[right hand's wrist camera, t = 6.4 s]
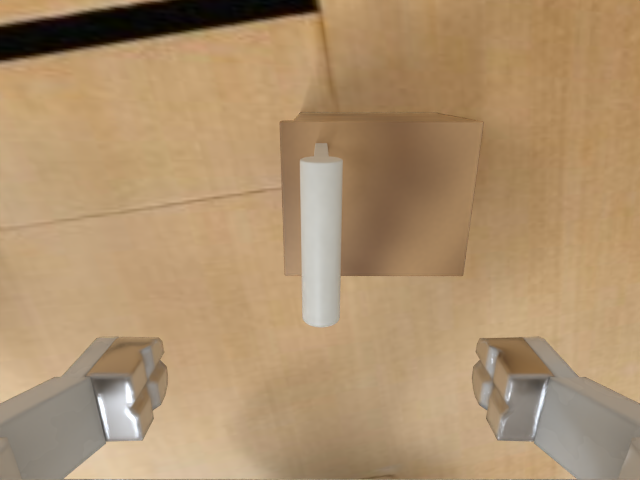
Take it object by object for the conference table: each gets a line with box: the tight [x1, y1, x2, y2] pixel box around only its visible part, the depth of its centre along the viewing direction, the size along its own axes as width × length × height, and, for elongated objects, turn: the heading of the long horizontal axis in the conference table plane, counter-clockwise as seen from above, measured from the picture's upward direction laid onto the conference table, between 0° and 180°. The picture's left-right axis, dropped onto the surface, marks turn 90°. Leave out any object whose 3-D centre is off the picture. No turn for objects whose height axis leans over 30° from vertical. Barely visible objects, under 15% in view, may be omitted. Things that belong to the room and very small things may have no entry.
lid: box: [280, 120, 484, 327], centre depth 22 cm, size 12×10×9 cm
